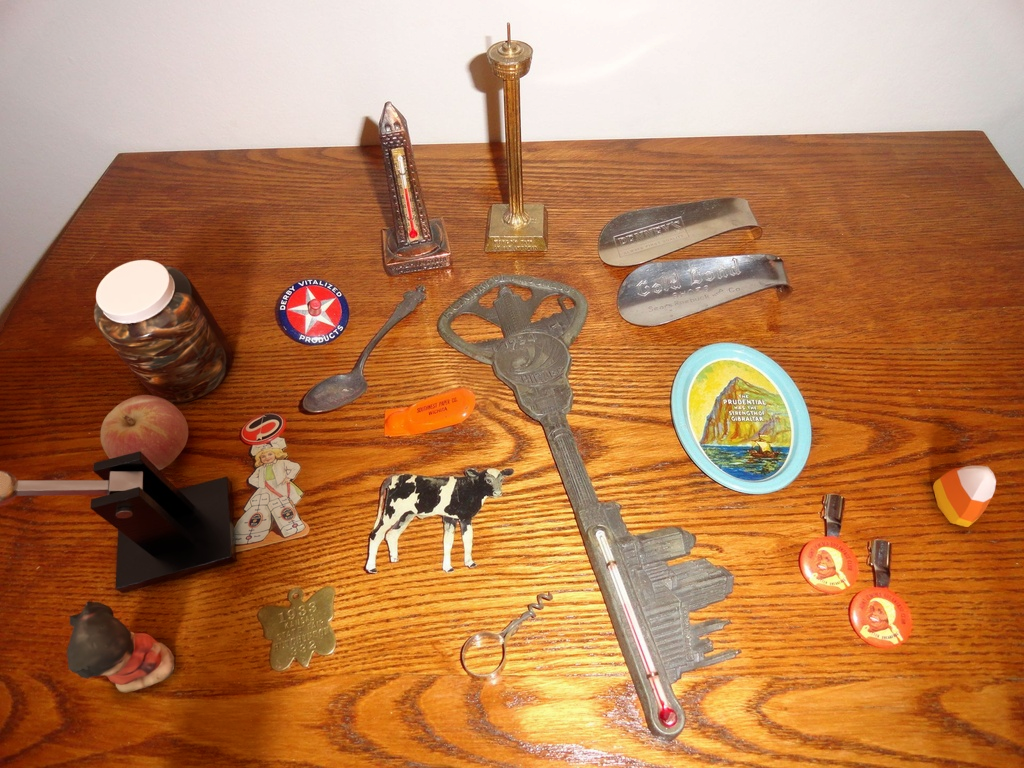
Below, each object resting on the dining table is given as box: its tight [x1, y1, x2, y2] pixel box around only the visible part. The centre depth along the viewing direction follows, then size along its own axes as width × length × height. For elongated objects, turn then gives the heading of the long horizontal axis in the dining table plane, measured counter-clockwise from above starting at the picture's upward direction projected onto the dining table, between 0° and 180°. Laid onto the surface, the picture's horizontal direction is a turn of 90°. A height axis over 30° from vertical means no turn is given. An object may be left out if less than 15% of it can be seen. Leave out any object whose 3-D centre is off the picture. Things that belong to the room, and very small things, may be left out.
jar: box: [93, 259, 234, 403], centre depth 84 cm, size 12×12×15 cm
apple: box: [100, 394, 189, 471], centre depth 80 cm, size 9×9×8 cm
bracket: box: [90, 451, 237, 594], centre depth 71 cm, size 12×10×14 cm
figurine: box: [66, 600, 176, 693], centre depth 64 cm, size 6×6×12 cm
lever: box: [0, 469, 143, 507], centre depth 64 cm, size 13×3×3 cm, turn 106°
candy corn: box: [932, 465, 997, 528], centre depth 72 cm, size 6×3×8 cm, turn 5°
